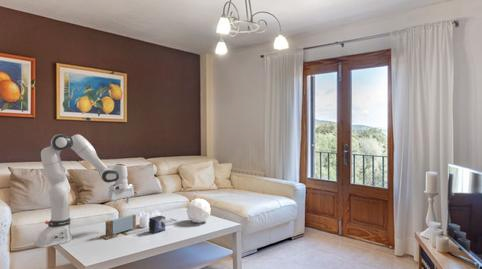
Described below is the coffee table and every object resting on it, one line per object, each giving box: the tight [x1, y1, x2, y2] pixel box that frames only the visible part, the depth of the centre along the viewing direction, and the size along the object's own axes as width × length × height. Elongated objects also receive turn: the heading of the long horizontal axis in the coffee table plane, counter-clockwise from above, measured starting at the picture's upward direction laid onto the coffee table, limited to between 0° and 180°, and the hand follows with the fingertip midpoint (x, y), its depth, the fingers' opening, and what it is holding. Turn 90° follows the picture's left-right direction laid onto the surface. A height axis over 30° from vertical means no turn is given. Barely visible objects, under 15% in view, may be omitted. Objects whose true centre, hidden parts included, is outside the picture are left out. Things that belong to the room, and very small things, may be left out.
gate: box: [110, 214, 137, 235], centre depth 242 cm, size 20×2×10 cm, turn 146°
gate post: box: [99, 220, 118, 241], centre depth 232 cm, size 8×8×11 cm
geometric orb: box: [186, 198, 212, 224], centre depth 270 cm, size 19×20×20 cm
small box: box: [148, 214, 166, 235], centre depth 246 cm, size 11×6×10 cm, turn 143°
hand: (121, 204), depth 247 cm, fingers open, 8 cm apart
